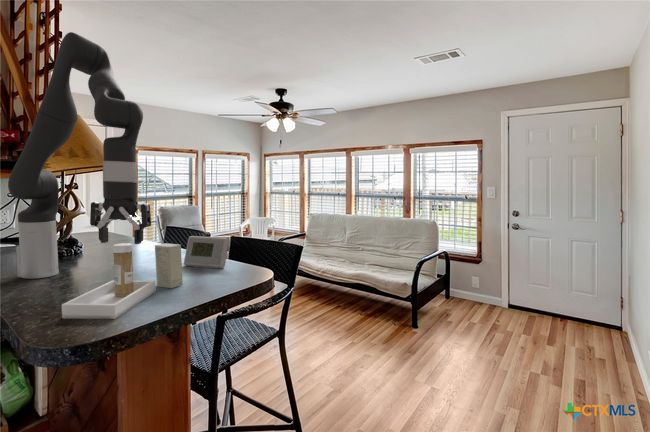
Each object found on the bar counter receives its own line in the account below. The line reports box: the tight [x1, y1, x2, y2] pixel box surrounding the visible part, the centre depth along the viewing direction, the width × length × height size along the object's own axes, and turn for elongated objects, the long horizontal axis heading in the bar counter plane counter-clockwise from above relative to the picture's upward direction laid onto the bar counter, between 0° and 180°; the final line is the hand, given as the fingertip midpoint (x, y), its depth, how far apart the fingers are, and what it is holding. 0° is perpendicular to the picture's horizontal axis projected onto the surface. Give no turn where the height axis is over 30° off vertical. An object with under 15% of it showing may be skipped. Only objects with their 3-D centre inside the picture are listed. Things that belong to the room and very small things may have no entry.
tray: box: [61, 279, 157, 320], centre depth 88 cm, size 12×20×3 cm, turn 1°
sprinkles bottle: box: [112, 242, 134, 297], centre depth 93 cm, size 5×5×14 cm
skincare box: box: [154, 242, 183, 289], centre depth 104 cm, size 6×4×12 cm
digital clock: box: [183, 235, 230, 269], centre depth 129 cm, size 16×9×11 cm, turn 66°
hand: (121, 243), depth 92 cm, fingers open, 8 cm apart
